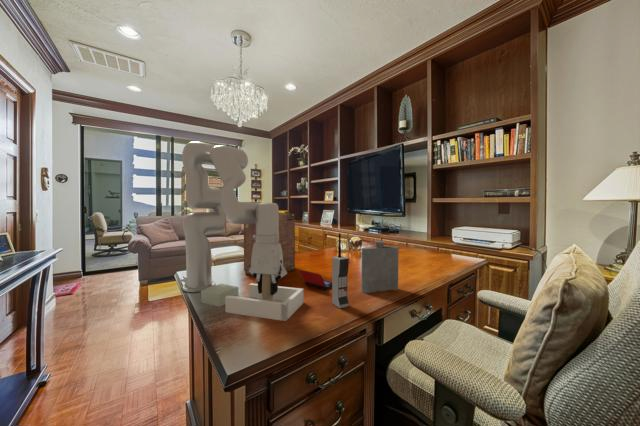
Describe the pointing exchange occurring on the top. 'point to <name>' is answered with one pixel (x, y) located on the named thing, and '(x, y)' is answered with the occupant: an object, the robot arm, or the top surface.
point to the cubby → (266, 303)
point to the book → (284, 239)
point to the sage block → (218, 294)
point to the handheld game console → (315, 280)
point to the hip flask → (379, 268)
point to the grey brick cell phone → (340, 279)
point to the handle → (266, 287)
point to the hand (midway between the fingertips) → (267, 292)
